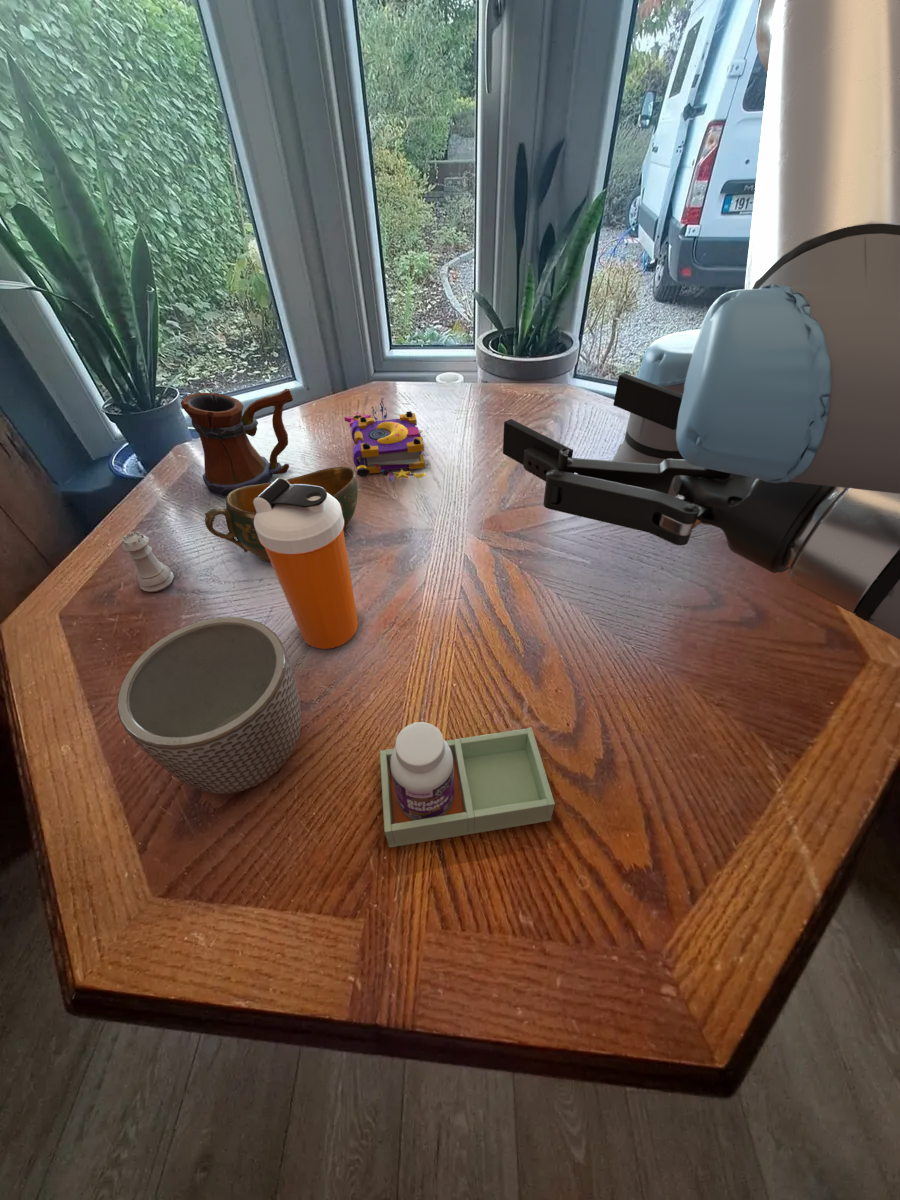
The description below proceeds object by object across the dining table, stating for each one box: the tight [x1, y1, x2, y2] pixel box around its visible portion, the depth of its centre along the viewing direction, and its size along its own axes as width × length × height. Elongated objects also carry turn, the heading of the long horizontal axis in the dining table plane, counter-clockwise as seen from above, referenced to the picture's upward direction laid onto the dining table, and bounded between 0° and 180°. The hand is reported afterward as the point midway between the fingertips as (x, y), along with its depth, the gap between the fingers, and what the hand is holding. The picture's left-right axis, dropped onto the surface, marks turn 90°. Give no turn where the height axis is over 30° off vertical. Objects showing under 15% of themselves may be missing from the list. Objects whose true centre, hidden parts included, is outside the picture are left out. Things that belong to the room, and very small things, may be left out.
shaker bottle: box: [253, 477, 359, 650], centre depth 58 cm, size 9×9×20 cm
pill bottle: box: [390, 721, 454, 820], centre depth 45 cm, size 5×5×10 cm
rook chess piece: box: [121, 531, 175, 593], centre depth 70 cm, size 4×4×8 cm
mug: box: [179, 388, 294, 498], centre depth 87 cm, size 18×12×15 cm, turn 107°
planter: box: [116, 616, 303, 795], centre depth 49 cm, size 14×14×13 cm
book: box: [343, 397, 427, 482], centre depth 92 cm, size 15×25×12 cm, turn 10°
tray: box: [379, 727, 556, 849], centre depth 48 cm, size 15×8×4 cm, turn 99°
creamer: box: [204, 466, 359, 564], centre depth 75 cm, size 13×20×10 cm, turn 99°
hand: (565, 411), depth 44 cm, fingers open, 13 cm apart
